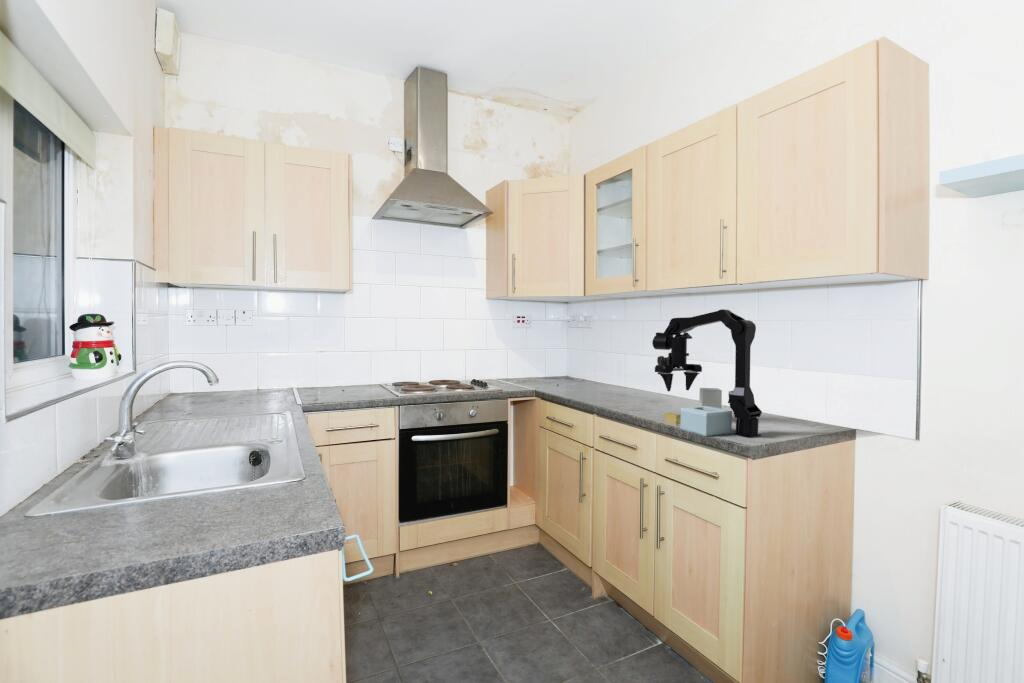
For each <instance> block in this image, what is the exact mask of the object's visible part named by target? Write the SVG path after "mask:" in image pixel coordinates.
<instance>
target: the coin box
mask: <svg viewBox="0 0 1024 683" xmlns="http://www.w3.org/2000/svg"><path fill="white" fill-rule="evenodd" d="M680 414H681V425H679V427H680V431H684V432H688V433H691V434H695V435H700V436H702V437H706V438H707V437H713V435H715V436H722V434H724V435H732V426H733V424H732V422H733V410H730V409H729V410H728V409H724V408H721V409H719V408H714V407H709V406H699V405H698V406H686V407H680Z"/></svg>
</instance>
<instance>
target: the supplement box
mask: <svg viewBox="0 0 1024 683" xmlns="http://www.w3.org/2000/svg"><path fill="white" fill-rule="evenodd" d="M722 394H723V391H722V389H720V388H718V387H717V388H716V387H714V388H713V387H700V388H699V399H698V400H699V401H698V402H699V403H698V404H699V405H698V406H709V407H714V408H719V409H722V402H723V401H722Z"/></svg>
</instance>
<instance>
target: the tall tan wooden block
mask: <svg viewBox="0 0 1024 683" xmlns="http://www.w3.org/2000/svg"><path fill="white" fill-rule="evenodd" d="M665 422H668V423H672V424H681V413H677V412H673V411H667V412H664V423H665ZM668 423H667V424H668ZM672 424H671V425H672Z"/></svg>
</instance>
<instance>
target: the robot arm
mask: <svg viewBox="0 0 1024 683" xmlns="http://www.w3.org/2000/svg"><path fill="white" fill-rule="evenodd" d="M719 322H720V323H722V325H724V326H725V327H726V328H727V329H729V330H730V334H731V339H732V342H733V343H734V345H735V357H734V358H735V360H734V361H735V364H734V365H735V366H734V367H735V368H734V372H735V376H734V388H733V390H730V391H728V394H727V395H728V401H727V404H729V407H730V409H731V411H732V413H733V416H734V418H735V419H736V420H735V431H734V432H733V433H732V434H734V435H737V436H740V437H746V438H754V437H761V436H762V434H761V433H759V418H760V417H761V416H762V410H761V409H760V408H759V407H758V405H756V402H755V395H754V393H753V391H752V389H751V348H752V347H751V346H752V343H754V342H753V341H754V339H755V337H756V331H757V330H756V329H757V326H756V324H755V323H754V322H753V321H751V320H750V319H749V320H746V319H745V318H743V317H742V316H739V315H737V314H735V313H733V312H732V311H731V310H730V309H725V308H724V309H719V310H715V311H711V312H707V313H704V314H699V315H696V316H695V315H694V316H690V317H687V316H686V317H673V318H671V319H670V321H669V323H668V326H666V328H665V330H664V331H663V332H655V336H654V337H653V338H652V342H651V343H652V347H653V349H654V350H664V351H669V350H670V352H668V356H667V357H665V356H663V355H660V356H657V358H656V359H657V360H656V363H657V364H656V365H655V367H654V372H655V373H657V374H658V375H660V377H661V378H662V380H663V382H664V384H665V388H666V390H667V392H671V389H672V384H673V378H674V373H673V372H676V371H677V372H678V371H680V372H681V371H683V374H684V376H685V390H686V391H690V388H691V387H692V385H693V383H694V381H695V380H696V378H697V376H698V375H700V373H702V372H703V366H702V364H698V363H696V364H695V363H687V357H688V356H690V353H689V352H687V348H688V345H687V344H688V343H687V342H688V340H690V339H693V336H692V335H691V334H689V332H690V331H693V330H694V329H695V328H697V327H702V326H706V325H712V324H715V323H719Z"/></svg>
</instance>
